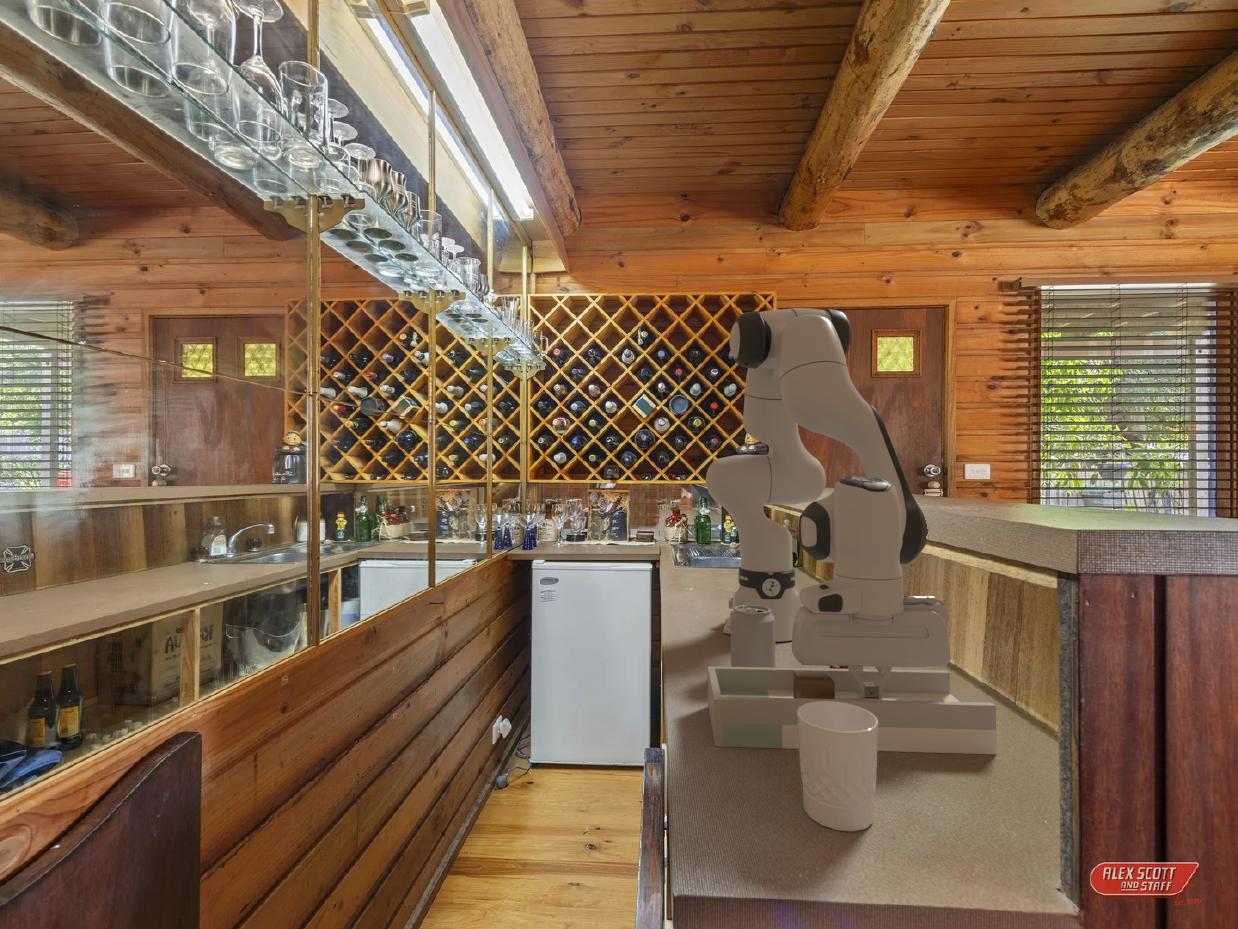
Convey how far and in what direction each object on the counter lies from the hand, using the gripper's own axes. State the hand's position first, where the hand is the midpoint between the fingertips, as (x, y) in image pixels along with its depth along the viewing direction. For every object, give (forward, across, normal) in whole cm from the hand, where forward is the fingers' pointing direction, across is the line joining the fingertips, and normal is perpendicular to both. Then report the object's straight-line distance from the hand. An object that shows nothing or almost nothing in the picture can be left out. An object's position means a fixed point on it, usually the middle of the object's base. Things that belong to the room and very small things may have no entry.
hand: (869, 697), depth 80 cm
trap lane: (+4, +4, 0) cm, 6 cm away
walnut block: (+1, +8, 0) cm, 8 cm away
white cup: (+5, +10, +20) cm, 23 cm away
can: (+4, +13, -20) cm, 24 cm away
